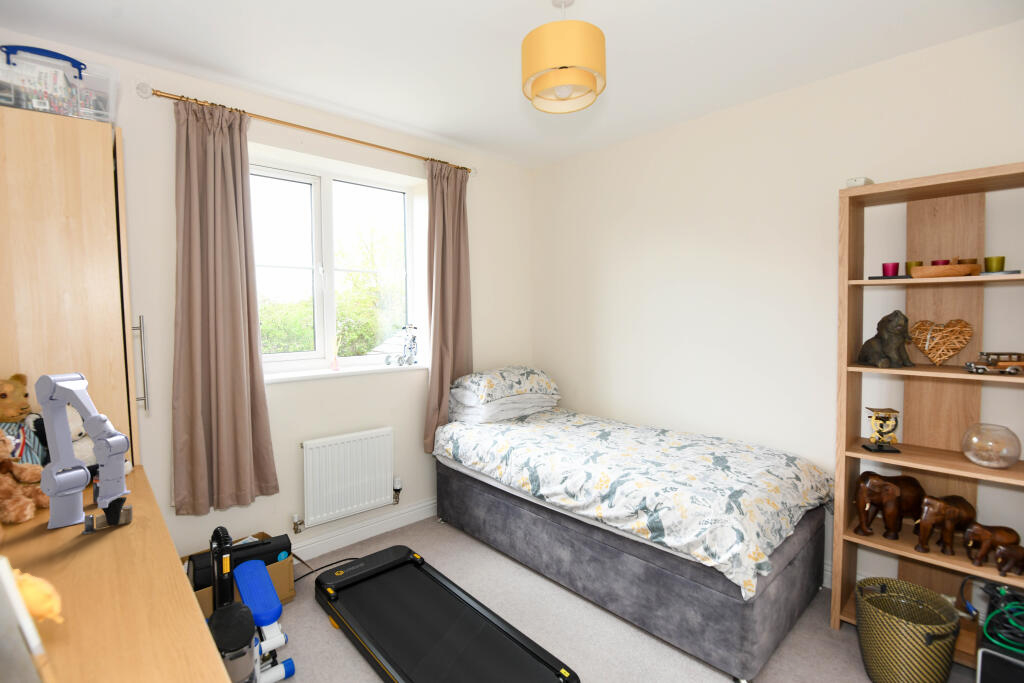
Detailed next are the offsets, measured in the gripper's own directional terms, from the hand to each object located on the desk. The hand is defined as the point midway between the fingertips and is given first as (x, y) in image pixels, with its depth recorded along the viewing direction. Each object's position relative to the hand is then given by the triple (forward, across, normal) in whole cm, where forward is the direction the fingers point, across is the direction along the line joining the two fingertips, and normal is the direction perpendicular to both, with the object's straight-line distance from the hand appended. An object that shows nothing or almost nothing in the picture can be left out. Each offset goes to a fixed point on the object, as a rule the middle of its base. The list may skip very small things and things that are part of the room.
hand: (113, 524), depth 139 cm
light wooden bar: (+1, +2, +1) cm, 2 cm away
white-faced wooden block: (+1, +5, -1) cm, 5 cm away
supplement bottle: (+1, +26, +11) cm, 29 cm away
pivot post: (+1, 0, +6) cm, 6 cm away
